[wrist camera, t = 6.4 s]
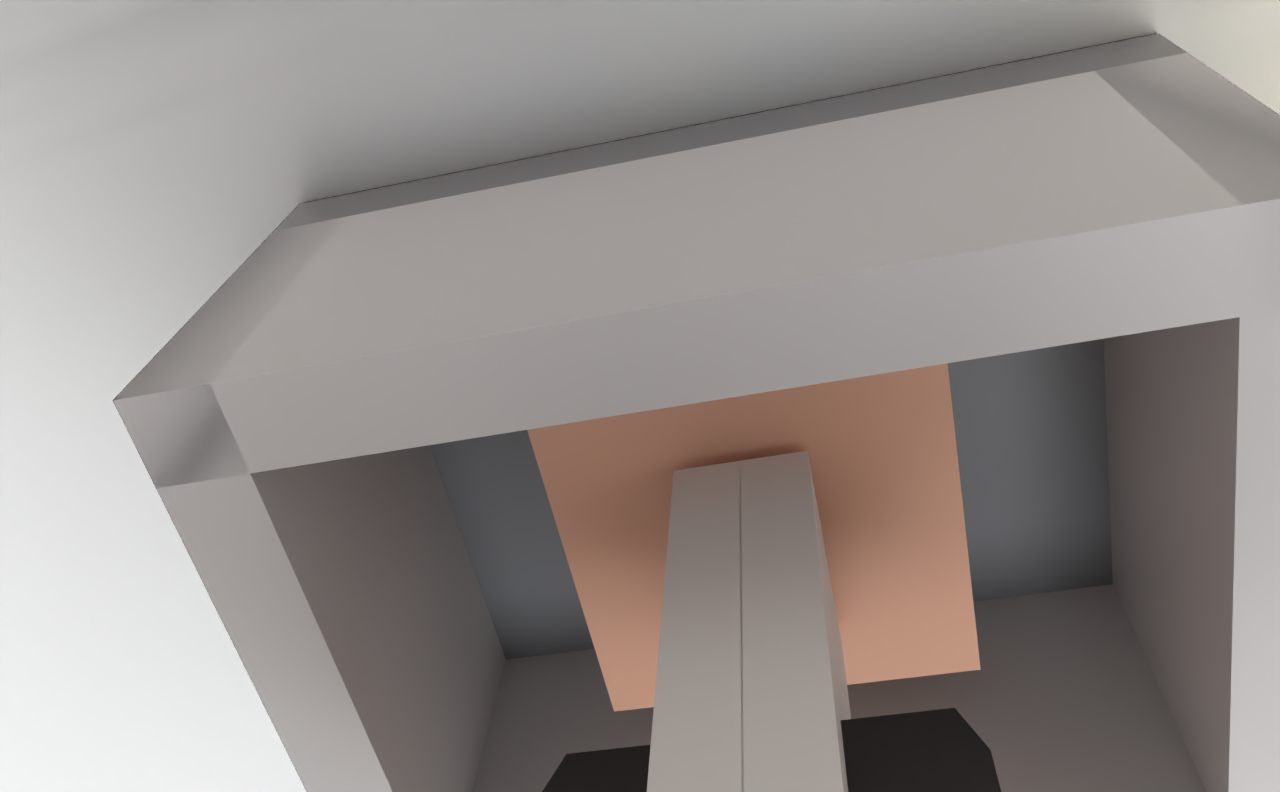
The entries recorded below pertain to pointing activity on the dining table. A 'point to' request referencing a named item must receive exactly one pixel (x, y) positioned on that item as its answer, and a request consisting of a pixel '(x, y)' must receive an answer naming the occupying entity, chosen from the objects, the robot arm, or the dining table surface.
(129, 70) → the dining table surface
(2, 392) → the dining table surface
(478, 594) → the grey compartment tray
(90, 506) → the dining table surface
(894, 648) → the key terracotta
